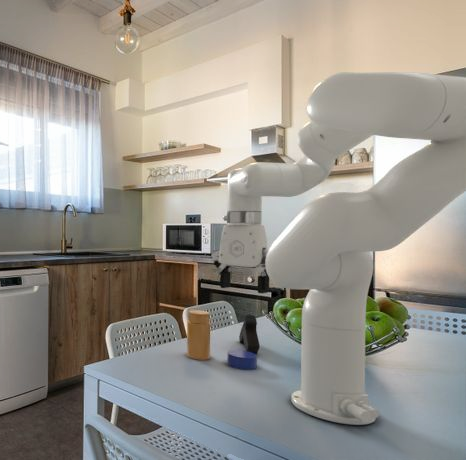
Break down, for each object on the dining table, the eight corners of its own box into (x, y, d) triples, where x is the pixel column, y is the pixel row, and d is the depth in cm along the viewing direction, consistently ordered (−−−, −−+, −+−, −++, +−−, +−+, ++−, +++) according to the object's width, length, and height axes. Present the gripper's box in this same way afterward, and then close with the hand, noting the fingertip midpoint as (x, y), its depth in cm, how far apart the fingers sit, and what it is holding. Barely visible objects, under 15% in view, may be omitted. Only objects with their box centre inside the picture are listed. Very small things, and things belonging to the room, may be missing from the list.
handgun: (247, 347, 104) (244, 312, 110) (240, 364, 114) (238, 331, 120) (260, 348, 103) (256, 312, 109) (252, 366, 113) (248, 332, 119)
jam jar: (213, 360, 101) (214, 314, 101) (192, 359, 101) (192, 314, 101) (204, 353, 107) (204, 310, 107) (183, 353, 107) (184, 310, 107)
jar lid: (257, 364, 98) (257, 352, 98) (255, 371, 93) (255, 359, 93) (229, 359, 102) (229, 348, 102) (225, 366, 96) (225, 354, 96)
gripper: (203, 220, 103) (202, 286, 103) (270, 218, 88) (270, 296, 88) (221, 220, 107) (221, 285, 107) (289, 219, 92) (288, 294, 92)
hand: (243, 290), depth 97 cm, fingers open, 9 cm apart
